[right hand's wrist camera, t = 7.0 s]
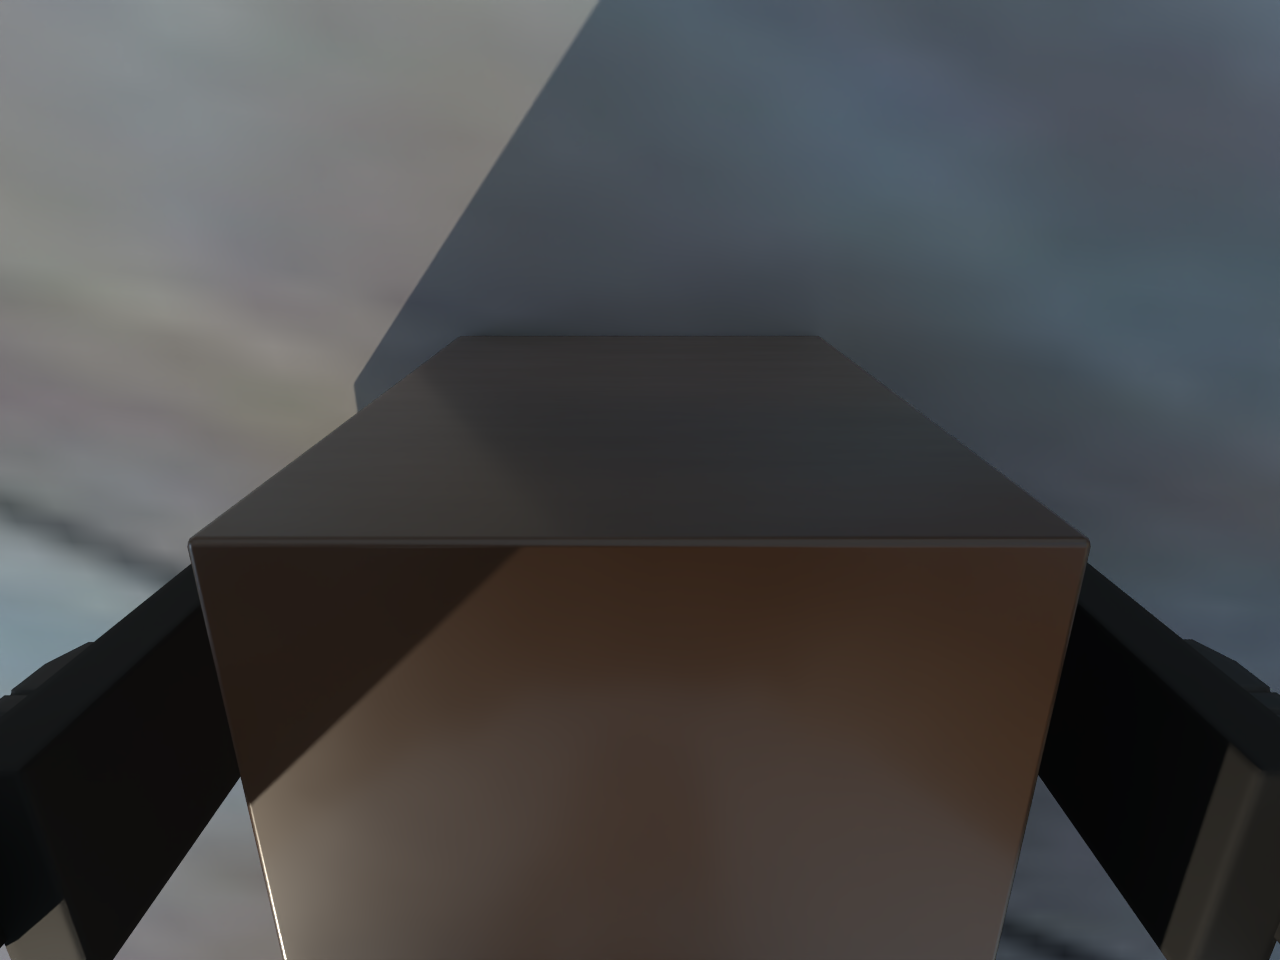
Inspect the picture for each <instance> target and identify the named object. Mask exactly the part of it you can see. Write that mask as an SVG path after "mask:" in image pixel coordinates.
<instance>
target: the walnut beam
mask: <svg viewBox="0 0 1280 960" xmlns="http://www.w3.org/2000/svg"><path fill="white" fill-rule="evenodd" d="M188 551H189V556H190V560H191V564H192V569H193V573H194V577H195V582H196V586H197V590H198V595H199V599H200V603H201V608H202V612H203V616H204V620H205V625H206V629H207V633H208V638H209V642H210V646H211V651H212V655H213V659H214V664H215V668H216V672H217V677H218V681H219V685H220V690H221V694H222V698H223V702H224V707H225V711H226V715H227V720H228V724H229V728H230V733H231V737H232V741H233V746H234V750H235V754H236V759H237V763H238V767H239V771H240V776H241V780H242V784H243V789H244V793H245V797H246V802H247V806H248V810H249V815H250V819H251V823H252V828H253V832H254V836H255V841H256V845H257V849H258V853H259V858H260V862H261V866H262V871H263V875H264V879H265V884H266V888H267V892H268V897H269V901H270V905H271V910H272V914H273V918H274V923H275V927H276V931H277V935H278V940H279V944H280V948H281V953H282V957H283V960H995V959H996V955H997V950H998V946H999V942H1000V937H1001V933H1002V929H1003V924H1004V920H1005V916H1006V911H1007V907H1008V903H1009V898H1010V894H1011V890H1012V885H1013V881H1014V877H1015V872H1016V868H1017V864H1018V859H1019V855H1020V851H1021V846H1022V842H1023V837H1024V833H1025V829H1026V824H1027V820H1028V816H1029V811H1030V807H1031V803H1032V798H1033V794H1034V790H1035V785H1036V781H1037V777H1038V772H1039V768H1040V764H1041V759H1042V755H1043V751H1044V746H1045V742H1046V738H1047V733H1048V729H1049V725H1050V720H1051V716H1052V712H1053V707H1054V703H1055V699H1056V694H1057V690H1058V686H1059V681H1060V677H1061V673H1062V668H1063V664H1064V660H1065V655H1066V651H1067V647H1068V642H1069V638H1070V634H1071V629H1072V625H1073V621H1074V616H1075V612H1076V608H1077V603H1078V599H1079V595H1080V590H1081V586H1082V582H1083V577H1084V573H1085V569H1086V564H1087V560H1088V556H1089V551H1090V541H1089V539H1088V538H1087V537H1086V536H1085V535H1083V534H1082V533H1081V532H1079V531H1078V530H1077V529H1075V528H1074V527H1073V526H1071V525H1070V524H1069V523H1067V522H1066V521H1065V520H1063V519H1062V518H1061V517H1059V516H1058V515H1057V514H1055V513H1054V512H1053V511H1051V510H1050V509H1049V508H1047V507H1046V506H1045V505H1043V504H1042V503H1041V502H1039V501H1038V500H1037V499H1035V498H1034V497H1033V496H1031V495H1030V494H1029V493H1027V492H1026V491H1025V490H1023V489H1022V488H1021V487H1019V486H1018V485H1017V484H1015V483H1014V482H1013V481H1011V480H1010V479H1009V478H1007V477H1006V476H1005V475H1003V474H1002V473H1001V472H999V471H998V470H997V469H995V468H994V467H993V466H991V465H990V464H989V463H987V462H986V461H985V460H983V459H982V458H981V457H979V456H978V455H977V454H975V453H974V452H973V451H971V450H970V449H969V448H967V447H966V446H965V445H963V444H962V443H961V442H959V441H958V440H957V439H955V438H954V437H953V436H951V435H950V434H949V433H947V432H946V431H945V430H943V429H942V428H941V427H939V426H938V425H937V424H935V423H934V422H933V421H931V420H930V419H929V418H927V417H926V416H925V415H923V414H922V413H921V412H919V411H918V410H917V409H915V408H914V407H913V406H911V405H910V404H909V403H907V402H906V401H905V400H903V399H902V398H901V397H899V396H898V395H897V394H895V393H894V392H893V391H891V390H890V389H889V388H887V387H886V386H885V385H883V384H882V383H881V382H879V381H878V380H877V379H875V378H874V377H873V376H871V375H870V374H869V373H867V372H866V371H865V370H863V369H862V368H861V367H859V366H858V365H857V364H855V363H854V362H853V361H851V360H850V359H849V358H847V357H846V356H845V355H843V354H842V353H841V352H839V351H838V350H837V349H835V348H834V347H833V346H831V345H830V344H829V343H827V342H826V341H825V340H823V339H822V338H821V337H819V336H460V337H458V338H457V339H455V340H454V341H453V342H451V343H450V344H449V345H447V346H446V347H445V348H443V349H442V350H441V351H439V352H438V353H437V354H435V355H434V356H433V357H431V358H430V359H429V360H427V361H426V362H425V363H423V364H422V365H421V366H419V367H418V368H417V369H415V370H414V371H413V372H411V373H410V374H409V375H407V376H406V377H405V378H403V379H402V380H401V381H399V382H398V383H397V384H395V385H394V386H393V387H391V388H390V389H389V390H387V391H386V392H385V393H383V394H382V395H381V396H379V397H378V398H377V399H375V400H374V401H373V402H371V403H370V404H369V405H367V406H366V407H365V408H363V409H362V410H361V411H359V412H358V413H357V414H355V415H354V416H353V417H351V418H350V419H349V420H347V421H346V422H345V423H343V424H342V425H341V426H339V427H338V428H337V429H335V430H334V431H333V432H331V433H330V434H329V435H327V436H326V437H325V438H323V439H322V440H321V441H319V442H318V443H317V444H315V445H314V446H313V447H311V448H310V449H309V450H307V451H306V452H305V453H303V454H302V455H301V456H299V457H298V458H297V459H295V460H294V461H293V462H291V463H290V464H289V465H287V466H286V467H285V468H283V469H282V470H281V471H279V472H278V473H277V474H275V475H274V476H273V477H271V478H270V479H269V480H267V481H266V482H264V483H263V484H262V485H260V486H259V487H258V488H256V489H255V490H254V491H252V492H251V493H250V494H248V495H247V496H246V497H244V498H243V499H242V500H240V501H239V502H238V503H236V504H235V505H234V506H232V507H231V508H230V509H228V510H227V511H226V512H224V513H223V514H222V515H220V516H219V517H218V518H216V519H215V520H214V521H212V522H211V523H210V524H208V525H207V526H206V527H204V528H203V529H202V530H200V531H199V532H198V533H196V534H195V535H194V536H192V537H191V538H190V539H189V541H188Z"/></svg>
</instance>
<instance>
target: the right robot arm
mask: <svg viewBox="0 0 1280 960" xmlns="http://www.w3.org/2000/svg"><path fill="white" fill-rule="evenodd" d="M1038 775H1039V776H1040V778H1041V779H1042V781H1043V782H1044V784H1045V785H1046V786H1047V788H1048V789H1049V791H1050V792H1051V794H1052V795H1053V797H1054V798H1055V799H1056V801H1057V802H1058V804H1059V805H1060V807H1061V808H1062V809H1063V811H1064V812H1065V814H1066V815H1067V817H1068V818H1069V820H1070V821H1071V822H1072V824H1073V825H1074V827H1075V828H1076V830H1077V831H1078V832H1079V834H1080V835H1081V837H1082V838H1083V840H1084V841H1085V843H1086V844H1087V845H1088V847H1089V848H1090V850H1091V851H1092V853H1093V854H1094V855H1095V857H1096V858H1097V860H1098V861H1099V863H1100V864H1101V865H1102V867H1103V868H1104V870H1105V871H1106V873H1107V874H1108V876H1109V877H1110V878H1111V880H1112V881H1113V883H1114V884H1115V886H1116V887H1117V888H1118V890H1119V891H1120V893H1121V894H1122V896H1123V897H1124V899H1125V900H1126V901H1127V903H1128V904H1129V906H1130V907H1131V909H1132V910H1133V911H1134V913H1135V914H1136V916H1137V917H1138V919H1139V920H1140V922H1141V923H1142V924H1143V926H1144V927H1145V929H1146V930H1147V932H1148V933H1149V934H1150V936H1151V937H1152V939H1153V940H1154V942H1155V943H1156V945H1157V946H1158V947H1159V949H1160V950H1161V952H1162V953H1163V955H1164V956H1165V957H1166V959H1167V960H1269V958H1270V956H1271V953H1272V951H1273V948H1274V946H1275V944H1276V941H1278V942H1279V943H1280V695H1279V694H1278V693H1271V692H1270V687H1269V686H1267V685H1266V684H1265V683H1263V682H1262V681H1261V680H1259V679H1258V678H1257V677H1256V676H1254V675H1253V674H1252V673H1250V672H1249V671H1248V670H1246V669H1245V668H1244V667H1243V666H1241V665H1240V664H1239V663H1237V662H1236V661H1234V660H1232V659H1230V658H1228V657H1226V656H1224V655H1222V654H1220V653H1218V652H1216V651H1214V650H1212V649H1210V648H1208V647H1206V646H1204V645H1202V644H1200V643H1198V642H1196V641H1194V640H1192V639H1182V638H1180V637H1179V636H1178V635H1177V634H1175V633H1174V632H1173V631H1172V630H1170V629H1169V628H1168V627H1167V626H1165V625H1164V624H1163V623H1162V622H1161V621H1159V620H1158V619H1157V618H1156V617H1154V616H1153V615H1152V614H1151V613H1149V612H1148V611H1147V610H1146V609H1144V608H1143V607H1142V606H1141V605H1139V604H1138V603H1137V602H1136V601H1134V600H1133V599H1132V598H1131V597H1129V596H1128V595H1127V594H1126V593H1124V592H1123V591H1122V590H1121V589H1120V588H1118V587H1117V586H1116V585H1115V584H1113V583H1112V582H1111V581H1110V580H1108V579H1107V578H1106V577H1105V576H1103V575H1102V574H1101V573H1100V572H1098V571H1097V570H1096V569H1095V568H1093V567H1092V566H1091V565H1090V564H1088V563H1087V564H1086V569H1085V573H1084V577H1083V582H1082V586H1081V590H1080V595H1079V599H1078V603H1077V608H1076V612H1075V616H1074V621H1073V625H1072V629H1071V634H1070V638H1069V642H1068V647H1067V651H1066V655H1065V660H1064V664H1063V668H1062V673H1061V677H1060V681H1059V686H1058V690H1057V694H1056V699H1055V703H1054V707H1053V712H1052V716H1051V720H1050V725H1049V729H1048V733H1047V738H1046V742H1045V746H1044V751H1043V755H1042V759H1041V764H1040V768H1039V772H1038ZM239 778H240V771H239V767H238V763H237V759H236V754H235V750H234V746H233V741H232V737H231V733H230V728H229V724H228V720H227V715H226V711H225V707H224V702H223V698H222V694H221V690H220V685H219V681H218V677H217V672H216V668H215V664H214V659H213V655H212V651H211V646H210V642H209V638H208V633H207V629H206V625H205V620H204V616H203V612H202V608H201V603H200V599H199V595H198V590H197V586H196V582H195V577H194V573H193V569H192V564H190V565H189V566H188V567H187V568H185V569H184V570H183V571H182V572H180V573H179V574H178V575H177V576H175V577H174V578H173V579H172V580H170V581H169V582H168V583H167V584H165V585H164V586H163V587H162V588H160V589H159V590H158V591H157V592H156V593H154V594H153V595H152V596H151V597H149V598H148V599H147V600H146V601H144V602H143V603H142V604H141V605H139V606H138V607H137V608H136V609H134V610H133V611H132V612H131V613H129V614H128V615H127V616H126V617H124V618H123V619H122V620H121V621H120V622H118V623H117V624H116V625H115V626H113V627H112V628H111V629H110V630H108V631H107V632H106V633H105V634H103V635H102V636H101V637H100V638H98V639H97V640H96V641H95V642H88V643H86V644H84V645H82V646H80V647H78V648H76V649H74V650H72V651H70V652H68V653H66V654H64V655H62V656H60V657H58V658H56V659H54V660H52V661H50V662H48V663H46V664H44V665H43V666H42V667H41V668H39V669H38V670H37V671H35V672H34V673H33V674H32V675H30V676H29V677H28V678H26V679H25V680H24V681H23V682H21V683H20V684H19V685H17V686H16V687H15V688H14V689H12V690H11V695H5V696H3V697H2V698H1V699H0V948H1V947H2V945H3V944H4V943H5V946H6V948H7V951H8V953H9V956H10V958H11V960H113V959H114V957H115V956H116V955H117V953H118V952H119V950H120V949H121V947H122V946H123V945H124V943H125V942H126V940H127V939H128V937H129V936H130V934H131V933H132V932H133V930H134V929H135V927H136V926H137V924H138V923H139V922H140V920H141V919H142V917H143V916H144V914H145V913H146V911H147V910H148V909H149V907H150V906H151V904H152V903H153V901H154V900H155V899H156V897H157V896H158V894H159V893H160V891H161V890H162V889H163V887H164V886H165V884H166V883H167V881H168V880H169V878H170V877H171V876H172V874H173V873H174V871H175V870H176V868H177V867H178V866H179V864H180V863H181V861H182V860H183V858H184V857H185V855H186V854H187V853H188V851H189V850H190V848H191V847H192V845H193V844H194V843H195V841H196V840H197V838H198V837H199V835H200V834H201V832H202V831H203V830H204V828H205V827H206V825H207V824H208V822H209V821H210V820H211V818H212V817H213V815H214V814H215V812H216V811H217V809H218V808H219V807H220V805H221V804H222V802H223V801H224V799H225V798H226V797H227V795H228V794H229V792H230V791H231V789H232V788H233V786H234V785H235V784H236V782H237V781H238V779H239Z"/></svg>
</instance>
